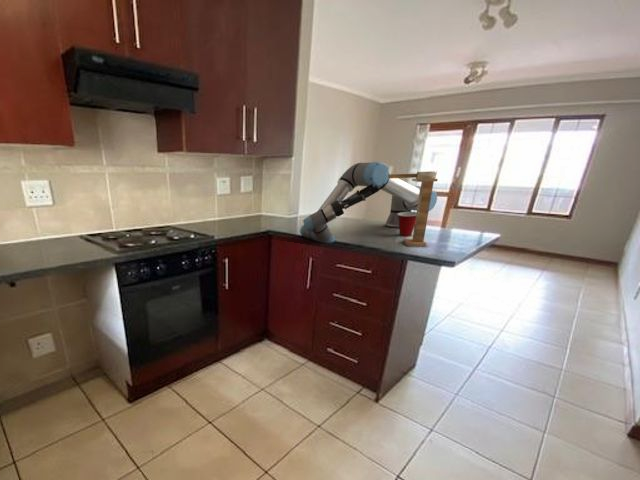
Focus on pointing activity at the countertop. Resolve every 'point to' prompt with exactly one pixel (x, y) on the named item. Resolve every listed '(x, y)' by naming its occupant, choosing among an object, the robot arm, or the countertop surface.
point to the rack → (421, 213)
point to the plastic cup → (406, 223)
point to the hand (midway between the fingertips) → (375, 187)
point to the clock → (416, 175)
